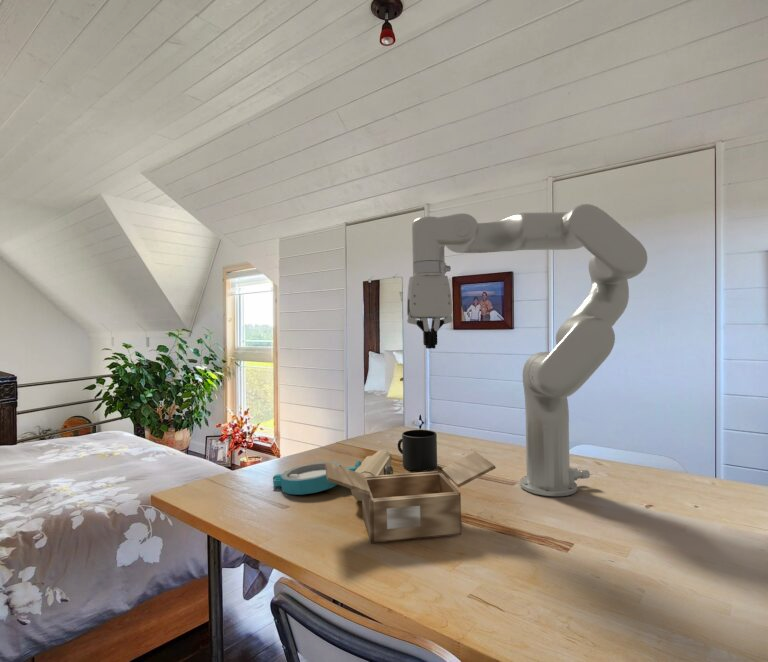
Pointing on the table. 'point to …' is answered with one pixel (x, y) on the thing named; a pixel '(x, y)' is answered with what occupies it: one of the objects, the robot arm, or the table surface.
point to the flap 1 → (346, 478)
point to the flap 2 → (468, 469)
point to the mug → (419, 449)
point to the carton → (411, 507)
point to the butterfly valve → (315, 477)
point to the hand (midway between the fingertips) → (430, 348)
